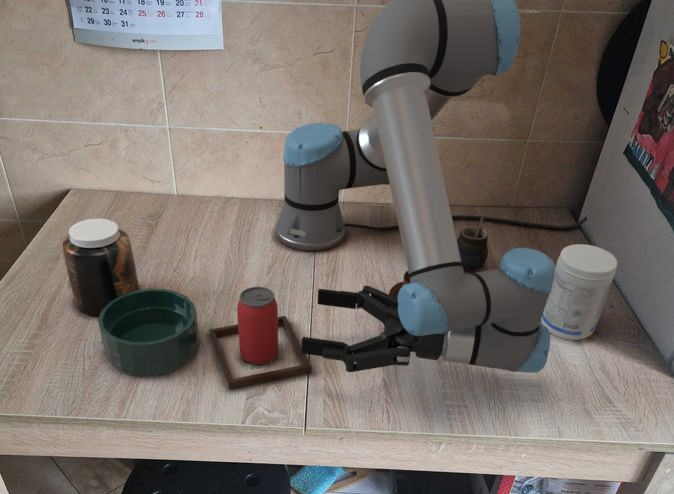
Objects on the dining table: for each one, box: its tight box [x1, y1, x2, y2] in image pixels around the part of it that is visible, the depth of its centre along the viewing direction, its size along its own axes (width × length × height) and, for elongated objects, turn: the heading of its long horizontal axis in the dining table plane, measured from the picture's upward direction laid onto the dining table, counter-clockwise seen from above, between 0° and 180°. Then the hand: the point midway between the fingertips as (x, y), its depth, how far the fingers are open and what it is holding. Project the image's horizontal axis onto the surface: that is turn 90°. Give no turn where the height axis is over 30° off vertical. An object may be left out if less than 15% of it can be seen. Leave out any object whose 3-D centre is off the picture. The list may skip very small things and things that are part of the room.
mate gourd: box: [457, 215, 489, 273], centre depth 132 cm, size 7×8×10 cm
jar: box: [62, 218, 140, 318], centre depth 118 cm, size 12×12×15 cm
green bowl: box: [97, 288, 201, 376], centre depth 109 cm, size 16×16×7 cm
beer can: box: [236, 286, 279, 365], centre depth 107 cm, size 7×7×12 cm
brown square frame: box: [208, 315, 313, 391], centre depth 111 cm, size 14×15×2 cm
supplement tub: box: [540, 243, 618, 341], centre depth 114 cm, size 10×10×15 cm
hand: (310, 319), depth 104 cm, fingers open, 13 cm apart
